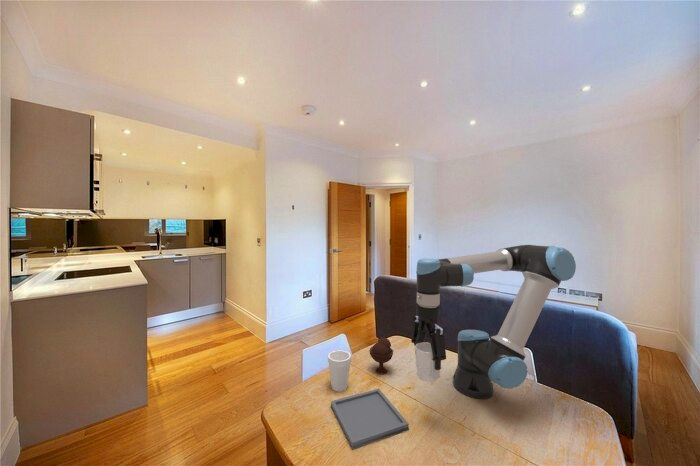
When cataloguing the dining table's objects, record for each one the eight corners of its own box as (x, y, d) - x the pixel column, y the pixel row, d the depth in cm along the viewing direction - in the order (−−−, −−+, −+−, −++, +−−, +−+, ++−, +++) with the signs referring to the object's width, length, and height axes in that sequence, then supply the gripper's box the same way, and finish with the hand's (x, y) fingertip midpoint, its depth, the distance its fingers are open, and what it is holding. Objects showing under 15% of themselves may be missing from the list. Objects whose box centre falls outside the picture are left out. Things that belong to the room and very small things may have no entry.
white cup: (440, 384, 84) (441, 353, 84) (415, 381, 85) (415, 351, 85) (437, 371, 91) (437, 343, 91) (414, 369, 93) (414, 341, 93)
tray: (378, 393, 103) (378, 388, 103) (408, 429, 85) (408, 423, 85) (330, 406, 95) (330, 401, 95) (352, 449, 77) (352, 442, 77)
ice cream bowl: (376, 362, 127) (376, 331, 127) (397, 369, 121) (397, 337, 120) (364, 372, 118) (365, 339, 118) (386, 380, 112) (386, 346, 112)
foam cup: (323, 390, 105) (324, 358, 105) (333, 378, 113) (333, 348, 113) (345, 396, 101) (345, 363, 101) (354, 383, 110) (354, 352, 110)
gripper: (401, 298, 96) (400, 359, 96) (440, 315, 77) (439, 391, 77) (418, 296, 99) (417, 355, 99) (459, 312, 80) (458, 385, 80)
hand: (427, 371), depth 88 cm, fingers closed on white cup, 8 cm apart
